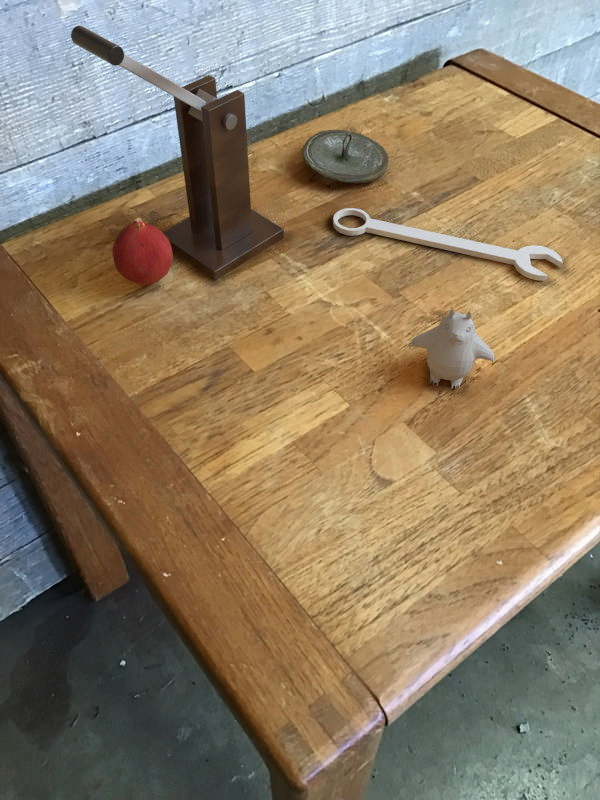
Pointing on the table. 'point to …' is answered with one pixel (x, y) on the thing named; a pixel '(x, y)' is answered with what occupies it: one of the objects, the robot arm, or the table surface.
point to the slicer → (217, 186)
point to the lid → (345, 156)
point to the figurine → (452, 348)
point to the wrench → (453, 243)
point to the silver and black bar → (138, 68)
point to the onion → (142, 253)
